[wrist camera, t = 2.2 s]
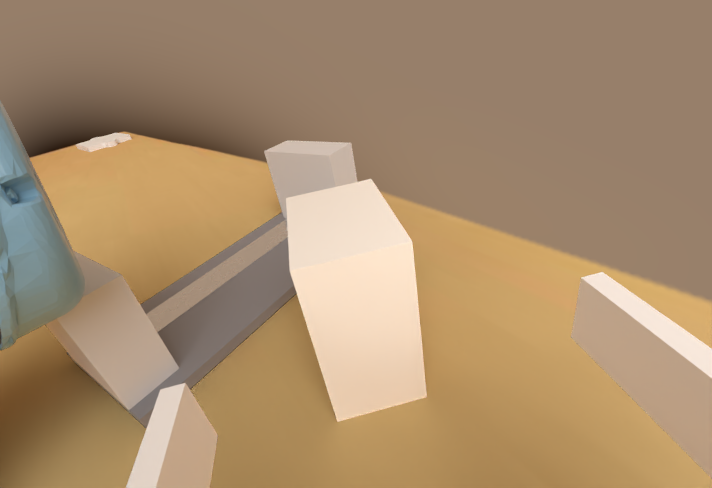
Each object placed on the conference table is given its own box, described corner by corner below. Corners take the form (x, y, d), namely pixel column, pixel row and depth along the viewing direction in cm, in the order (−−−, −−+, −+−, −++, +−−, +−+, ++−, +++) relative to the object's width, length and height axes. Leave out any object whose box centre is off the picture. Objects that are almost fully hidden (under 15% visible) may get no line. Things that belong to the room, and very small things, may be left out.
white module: (337, 421, 23) (289, 271, 17) (322, 323, 31) (285, 196, 25) (427, 397, 24) (412, 241, 17) (389, 306, 32) (370, 177, 25)
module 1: (129, 410, 25) (52, 314, 21) (72, 358, 31) (2, 273, 26) (179, 368, 28) (121, 274, 23) (118, 327, 34) (62, 245, 29)
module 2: (344, 230, 42) (329, 155, 38) (282, 217, 48) (262, 151, 43) (362, 214, 45) (350, 142, 40) (302, 204, 51) (285, 140, 46)
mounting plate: (76, 149, 124) (73, 144, 123) (115, 137, 132) (113, 132, 131) (93, 154, 113) (90, 147, 112) (135, 140, 121) (132, 134, 120)
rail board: (146, 428, 25) (139, 419, 24) (72, 360, 32) (66, 352, 32) (374, 223, 45) (373, 215, 44) (297, 209, 52) (295, 202, 51)
